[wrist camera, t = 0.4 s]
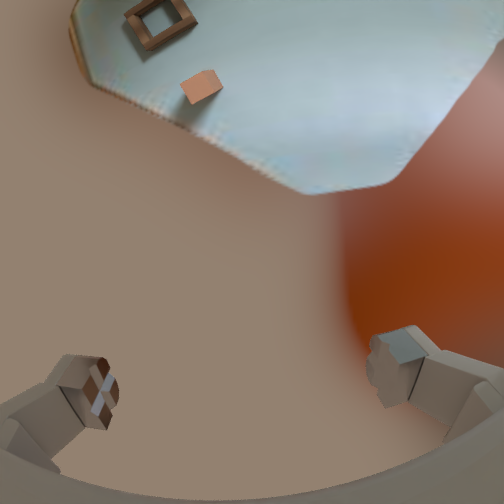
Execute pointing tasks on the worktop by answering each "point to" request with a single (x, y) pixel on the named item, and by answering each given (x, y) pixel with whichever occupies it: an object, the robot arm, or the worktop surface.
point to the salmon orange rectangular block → (201, 85)
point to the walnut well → (154, 42)
